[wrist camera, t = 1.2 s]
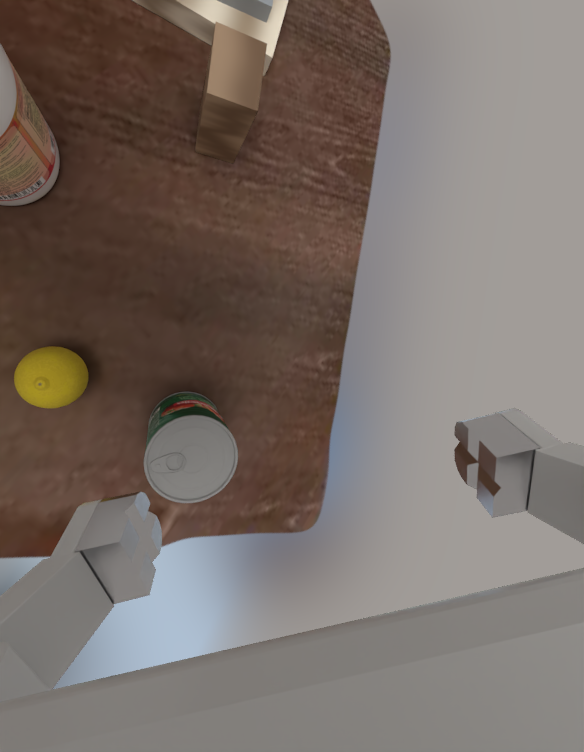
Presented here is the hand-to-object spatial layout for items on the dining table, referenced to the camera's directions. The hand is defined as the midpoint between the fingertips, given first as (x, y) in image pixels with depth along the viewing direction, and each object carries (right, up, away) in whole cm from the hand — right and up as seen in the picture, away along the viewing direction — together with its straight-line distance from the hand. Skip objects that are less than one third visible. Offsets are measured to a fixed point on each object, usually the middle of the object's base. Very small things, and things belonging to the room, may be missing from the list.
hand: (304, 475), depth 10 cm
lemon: (-23, +3, +28) cm, 37 cm away
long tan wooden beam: (-8, +28, +29) cm, 41 cm away
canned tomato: (-13, -3, +33) cm, 35 cm away
